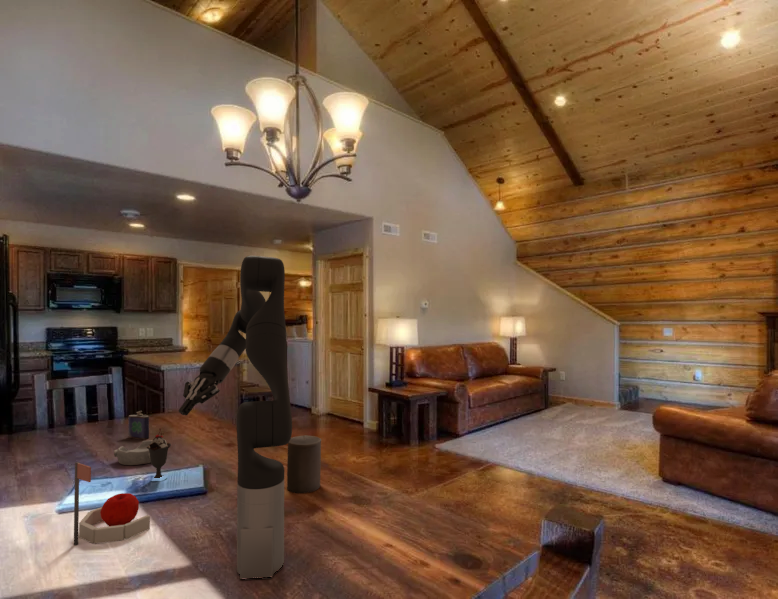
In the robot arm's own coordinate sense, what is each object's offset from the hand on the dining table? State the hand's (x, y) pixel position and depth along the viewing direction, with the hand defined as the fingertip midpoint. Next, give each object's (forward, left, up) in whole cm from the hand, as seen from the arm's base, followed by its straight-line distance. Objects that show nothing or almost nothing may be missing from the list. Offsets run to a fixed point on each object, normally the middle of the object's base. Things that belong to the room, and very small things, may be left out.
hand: (182, 413), depth 121 cm
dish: (+36, +26, -24) cm, 50 cm away
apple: (-13, +10, -24) cm, 29 cm away
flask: (+63, +39, -24) cm, 78 cm away
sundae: (+17, +13, -24) cm, 32 cm away
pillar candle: (+7, -32, -24) cm, 41 cm away
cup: (-16, +12, -24) cm, 31 cm away
